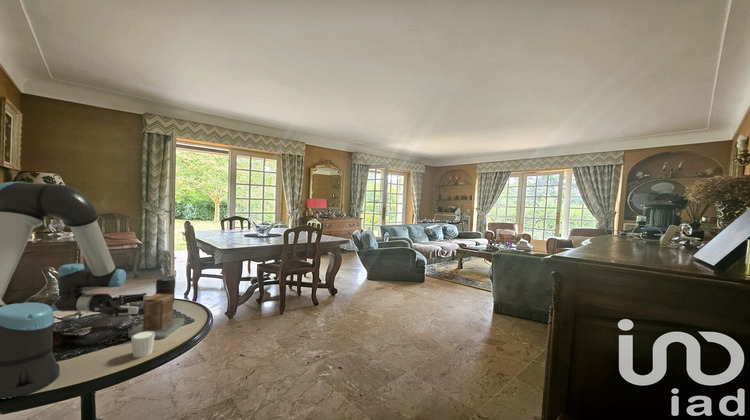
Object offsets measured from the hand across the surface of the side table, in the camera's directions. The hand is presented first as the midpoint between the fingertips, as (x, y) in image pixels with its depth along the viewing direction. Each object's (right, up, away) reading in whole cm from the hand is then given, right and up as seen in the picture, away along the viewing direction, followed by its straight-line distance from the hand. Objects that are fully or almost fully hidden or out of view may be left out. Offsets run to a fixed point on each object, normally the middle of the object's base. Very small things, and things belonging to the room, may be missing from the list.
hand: (149, 304), depth 126 cm
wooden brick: (+4, -9, 0) cm, 9 cm away
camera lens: (-11, -10, +25) cm, 29 cm away
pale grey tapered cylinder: (+11, -13, -18) cm, 25 cm away
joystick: (+3, -11, 0) cm, 12 cm away
